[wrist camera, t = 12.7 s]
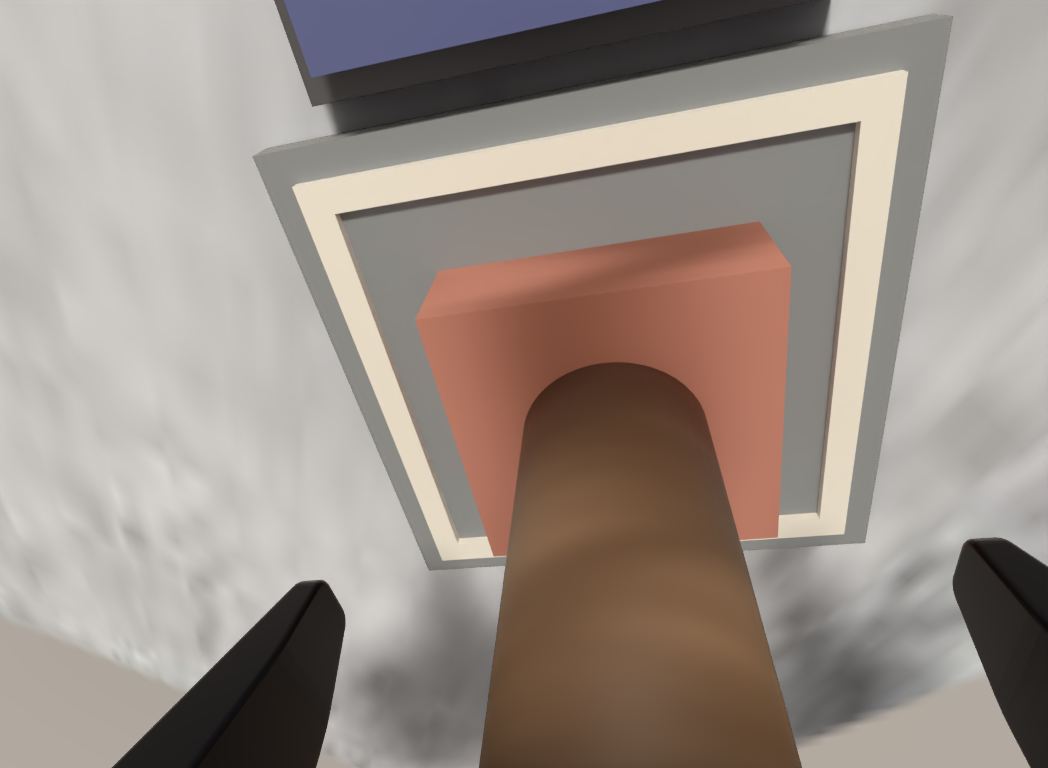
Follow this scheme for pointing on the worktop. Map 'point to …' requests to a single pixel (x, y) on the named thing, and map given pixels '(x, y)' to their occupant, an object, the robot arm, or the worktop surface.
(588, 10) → the ink pad
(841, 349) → the marked board
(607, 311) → the stamp
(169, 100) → the worktop surface
